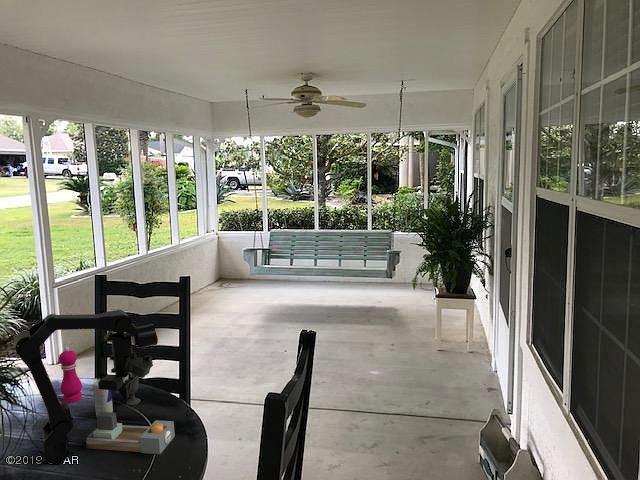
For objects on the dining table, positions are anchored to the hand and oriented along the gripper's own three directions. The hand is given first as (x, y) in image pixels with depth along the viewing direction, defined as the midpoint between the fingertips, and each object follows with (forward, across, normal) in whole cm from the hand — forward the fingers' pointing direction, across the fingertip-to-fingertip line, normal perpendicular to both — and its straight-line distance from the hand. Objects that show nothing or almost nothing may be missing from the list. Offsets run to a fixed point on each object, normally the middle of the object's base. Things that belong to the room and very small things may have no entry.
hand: (126, 398), depth 164 cm
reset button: (+10, -3, -12) cm, 16 cm away
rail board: (+12, -4, 0) cm, 13 cm away
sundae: (+12, +21, +11) cm, 27 cm away
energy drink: (+13, +11, +16) cm, 23 cm away
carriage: (+11, -4, +5) cm, 12 cm away
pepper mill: (+13, +20, +35) cm, 42 cm away
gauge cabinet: (+12, -3, -12) cm, 17 cm away
